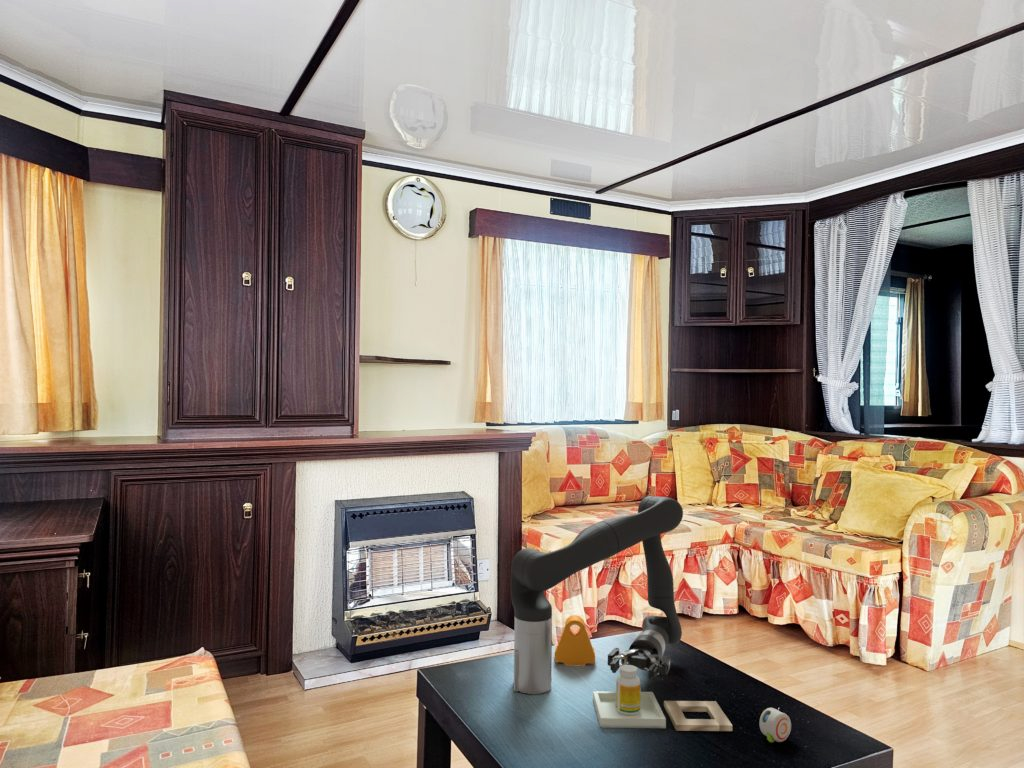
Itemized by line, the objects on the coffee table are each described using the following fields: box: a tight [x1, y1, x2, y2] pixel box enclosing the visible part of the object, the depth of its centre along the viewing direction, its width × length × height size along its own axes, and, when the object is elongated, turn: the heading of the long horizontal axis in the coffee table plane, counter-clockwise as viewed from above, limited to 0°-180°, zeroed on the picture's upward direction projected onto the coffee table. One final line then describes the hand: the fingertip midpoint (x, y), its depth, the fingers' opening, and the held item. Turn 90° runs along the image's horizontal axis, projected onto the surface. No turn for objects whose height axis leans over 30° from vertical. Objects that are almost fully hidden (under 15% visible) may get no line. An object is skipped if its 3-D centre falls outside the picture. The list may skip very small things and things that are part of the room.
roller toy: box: [758, 707, 792, 743], centre depth 145 cm, size 4×6×6 cm
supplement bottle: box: [615, 665, 641, 716], centre depth 156 cm, size 5×5×10 cm
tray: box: [592, 690, 667, 729], centre depth 156 cm, size 14×14×2 cm
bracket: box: [554, 614, 596, 667], centre depth 188 cm, size 11×7×12 cm
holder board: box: [663, 700, 733, 732], centre depth 154 cm, size 12×12×1 cm
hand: (631, 671), depth 159 cm, fingers open, 8 cm apart
